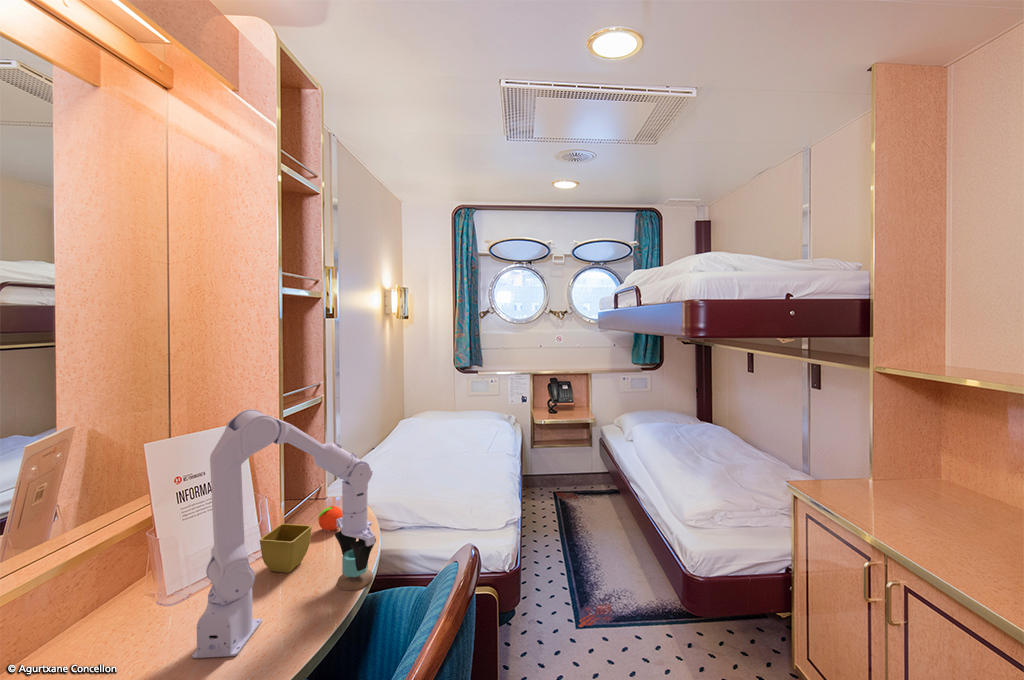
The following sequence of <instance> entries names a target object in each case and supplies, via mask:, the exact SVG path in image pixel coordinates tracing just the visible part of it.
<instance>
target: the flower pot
mask: <svg viewBox="0 0 1024 680" xmlns="http://www.w3.org/2000/svg"><path fill="white" fill-rule="evenodd" d="M312 529H313V526H312V525H307V524H306V525H305V524H293V523H292V524H291V523H281V524H279V525H278V526H276V527H275V528H273V529H272V530H271V531H269V532H268V533H266V534H265V535H263V536H262V537H261V538H260V539H259V544H260V552H261V558H262V560H263V564H264V565H265V566H266V568H267V569H268V570H270V571H271V572H276V573H291V572H292V571H293V570H294V569H295V568H296V567H297V566H298V565H300V564H302V561H303V560H304V558H305V556H306V554H307V552H308V550H309V546H310V542H311V536H312V531H313V530H312Z"/></svg>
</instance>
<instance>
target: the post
mask: <svg viewBox="0 0 1024 680" xmlns="http://www.w3.org/2000/svg"><path fill="white" fill-rule="evenodd" d="M373 579H374V573H373V572H372V570H370V569H368V568H367V571H366V573H363V574H361V575H359V576H357V577H347V576H345V575H344V574H343V573H341V575H340V576H339V577H338V579H337V587H338V589H339V590H342V591H346V592H347V591H348V592H350V591H351V592H352V591H358V590H361V589H364V588H366V587H367V586H369V584H371V583H372V581H373Z"/></svg>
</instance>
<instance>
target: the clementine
mask: <svg viewBox="0 0 1024 680" xmlns="http://www.w3.org/2000/svg"><path fill="white" fill-rule="evenodd" d="M339 518H342V508H340V507H339V506H336V505H329V506H328V507H325V508H324V509H323V510H322V511H321V512H320V514H319V515H318V518H317V520H318V525H319V526H320V528H321V529H322V530H324V531H327V532H333V531H335V530H337V529H339V528H338V527H337V519H339Z"/></svg>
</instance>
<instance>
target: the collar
mask: <svg viewBox="0 0 1024 680" xmlns="http://www.w3.org/2000/svg"><path fill="white" fill-rule="evenodd" d="M341 558H342V559H341V560H342V565H341V567H342V569H341V570H342V573H341V574H344V575H345V576H347V577H357V576H359V575H361V574H363V573H366V571H367V569H368V568H369V562H368V563H367V567H366V568H365V569H363V570H361V571H357V569H356V563H355V556H354V552H353V550H352V549H351V550H348V551H346V552H345V553H344V555H343V554H342V557H341Z"/></svg>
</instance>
